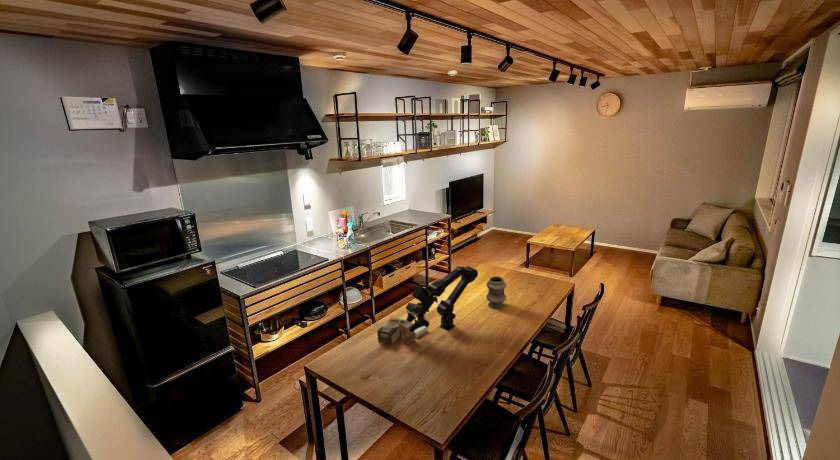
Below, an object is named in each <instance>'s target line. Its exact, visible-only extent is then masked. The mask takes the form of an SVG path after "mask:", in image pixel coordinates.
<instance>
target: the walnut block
mask: <svg viewBox="0 0 840 460" xmlns="http://www.w3.org/2000/svg"><path fill="white" fill-rule="evenodd" d="M405 321H406V320H405ZM413 323H414V322H409V321H406V322H404V323H403V324H401V335H400V336H401V342H403V343H405V344H407V345H410V344H412V343H413V342H414V341H416V337H415V331H412V332H410V329H411V327H412V326H413ZM411 342H412V343H411Z"/></svg>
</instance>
